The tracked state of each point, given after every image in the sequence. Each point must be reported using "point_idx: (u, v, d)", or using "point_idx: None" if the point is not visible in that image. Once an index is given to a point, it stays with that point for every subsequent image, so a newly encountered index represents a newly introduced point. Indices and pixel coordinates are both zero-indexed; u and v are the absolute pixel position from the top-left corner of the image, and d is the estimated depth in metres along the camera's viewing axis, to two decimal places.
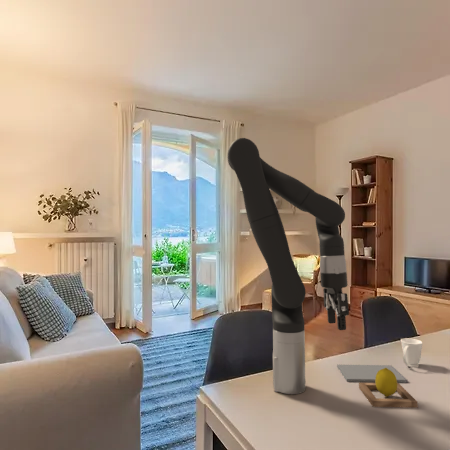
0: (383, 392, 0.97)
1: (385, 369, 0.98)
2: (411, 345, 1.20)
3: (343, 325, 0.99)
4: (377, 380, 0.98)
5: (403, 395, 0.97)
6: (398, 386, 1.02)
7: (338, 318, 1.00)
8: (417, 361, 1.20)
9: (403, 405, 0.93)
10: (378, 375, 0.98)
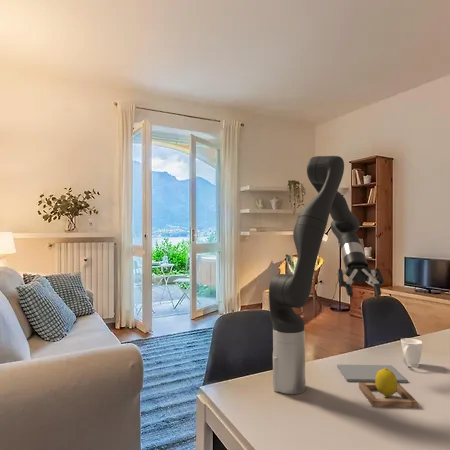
0: (383, 392, 0.97)
1: (385, 369, 0.98)
2: (411, 345, 1.20)
3: None
4: (377, 380, 0.98)
5: (403, 395, 0.97)
6: (398, 386, 1.02)
7: (377, 285, 1.17)
8: (417, 361, 1.20)
9: (403, 405, 0.93)
10: (378, 375, 0.98)
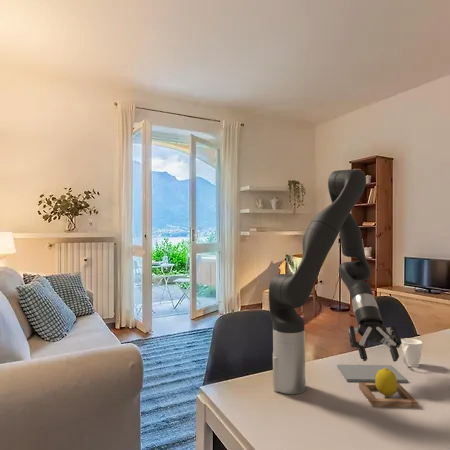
0: (383, 392, 0.97)
1: (385, 369, 0.98)
2: (411, 345, 1.20)
3: None
4: (377, 380, 0.98)
5: (403, 395, 0.97)
6: (398, 386, 1.02)
7: (394, 348, 1.04)
8: (417, 361, 1.20)
9: (403, 405, 0.93)
10: (378, 375, 0.98)
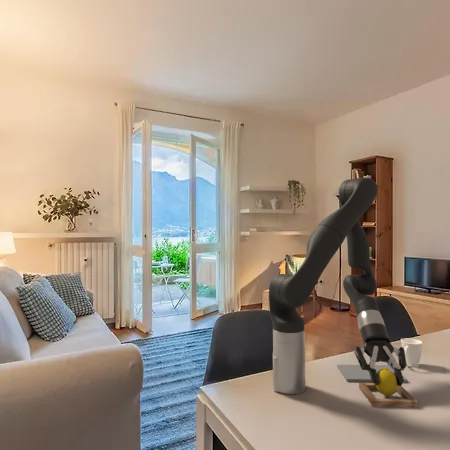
0: (383, 392, 0.97)
1: (385, 369, 0.98)
2: (411, 345, 1.20)
3: None
4: None
5: (403, 395, 0.97)
6: (398, 386, 1.02)
7: (398, 371, 0.98)
8: (417, 361, 1.20)
9: (403, 405, 0.93)
10: (378, 375, 0.98)
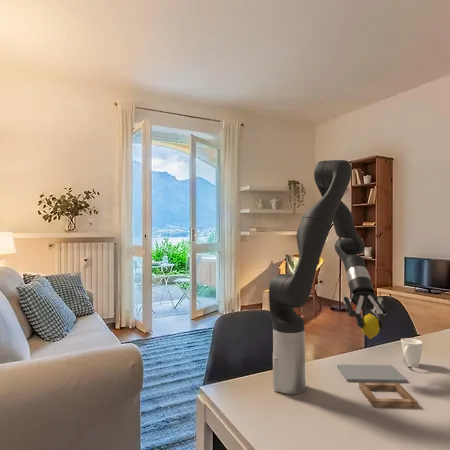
0: (367, 333, 1.10)
1: (369, 314, 1.12)
2: (411, 345, 1.20)
3: None
4: None
5: (403, 395, 0.97)
6: (398, 386, 1.02)
7: (381, 316, 1.12)
8: (417, 361, 1.20)
9: (403, 405, 0.93)
10: (363, 320, 1.12)
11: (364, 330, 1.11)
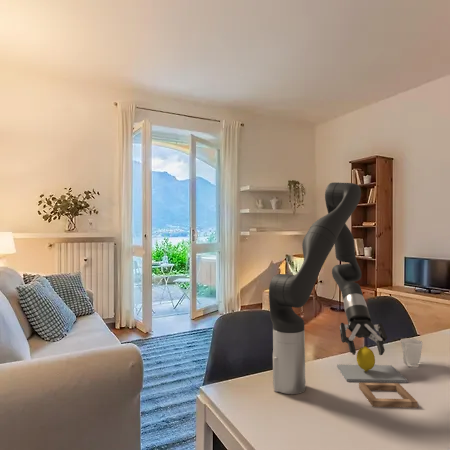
0: (363, 367, 1.13)
1: (364, 347, 1.14)
2: (411, 345, 1.20)
3: None
4: (358, 357, 1.14)
5: (403, 395, 0.97)
6: (398, 386, 1.02)
7: (380, 343, 1.15)
8: (417, 361, 1.20)
9: (403, 405, 0.93)
10: (358, 353, 1.14)
11: (360, 363, 1.13)
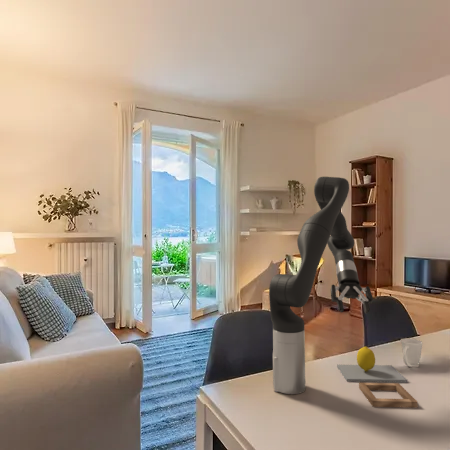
0: (363, 367, 1.13)
1: (365, 347, 1.14)
2: (411, 345, 1.20)
3: None
4: (358, 357, 1.14)
5: (403, 395, 0.97)
6: (398, 386, 1.02)
7: (366, 303, 1.27)
8: (417, 361, 1.20)
9: (403, 405, 0.93)
10: (359, 353, 1.14)
11: (360, 363, 1.13)
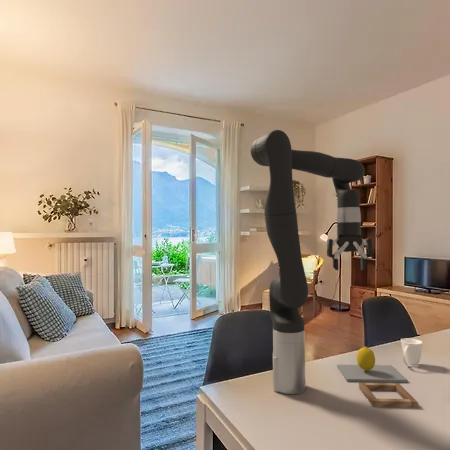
0: (363, 367, 1.13)
1: (365, 347, 1.14)
2: (411, 345, 1.20)
3: None
4: (358, 357, 1.14)
5: (403, 395, 0.97)
6: (398, 386, 1.02)
7: (364, 260, 1.17)
8: (417, 361, 1.20)
9: (403, 405, 0.93)
10: (359, 353, 1.14)
11: (360, 363, 1.13)
